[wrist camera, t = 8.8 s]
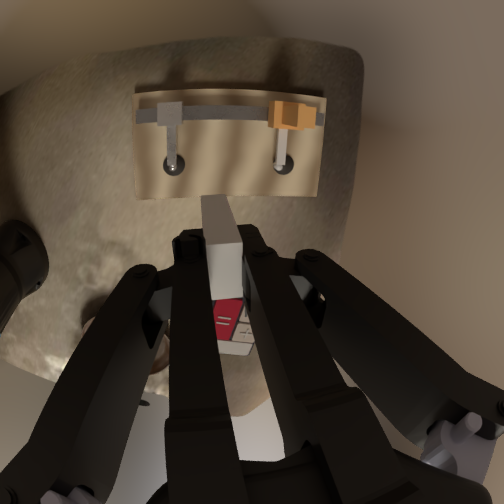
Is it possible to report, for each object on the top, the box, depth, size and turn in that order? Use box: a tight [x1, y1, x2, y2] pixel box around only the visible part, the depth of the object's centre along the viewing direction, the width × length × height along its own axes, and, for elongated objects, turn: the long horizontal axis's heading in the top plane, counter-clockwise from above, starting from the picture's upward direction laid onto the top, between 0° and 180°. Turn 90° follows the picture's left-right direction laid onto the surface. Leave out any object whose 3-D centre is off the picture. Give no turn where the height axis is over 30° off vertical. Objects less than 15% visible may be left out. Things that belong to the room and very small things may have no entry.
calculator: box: [212, 290, 255, 356], centre depth 53 cm, size 11×4×15 cm
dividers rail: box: [136, 101, 325, 171], centre depth 34 cm, size 26×10×5 cm, turn 87°
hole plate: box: [132, 89, 326, 200], centre depth 37 cm, size 28×16×2 cm, turn 87°
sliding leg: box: [268, 101, 316, 171], centre depth 32 cm, size 4×10×11 cm, turn 177°
